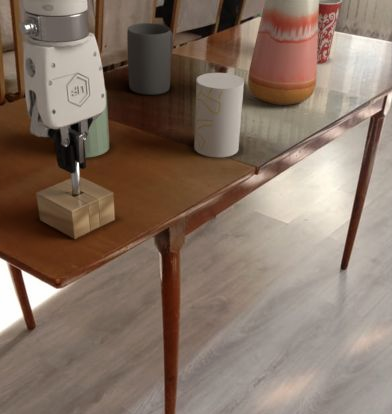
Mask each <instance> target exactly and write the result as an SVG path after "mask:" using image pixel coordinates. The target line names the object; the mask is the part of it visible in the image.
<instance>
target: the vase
mask: <svg viewBox="0 0 392 414" xmlns="http://www.w3.org/2000/svg"><path fill="white" fill-rule="evenodd" d="M318 16H319V0H264V5H263V9H262V12H261V17H260V21H259V26H258V30H257V34H256V37H255V38H256V39H255V43H254V48H253V52H252V55H251V61H250V65H249V70H248V76H247V87H248V90H249V92H250V93H251V94H252V95H253V96H254V97H255V98H257V99H258V100H260V101H263V102H265V103H267V104H272V105H280V106H289V105H296V104H299V103H302V102H304V101H306V100H308V99H309V98H310V97H311V96H312V95H313V94H314V92H315V90H316V85H317V77H318V76H317V73H318V63H317V47H318Z"/></svg>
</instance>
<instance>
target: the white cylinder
mask: <svg viewBox="0 0 392 414" xmlns="http://www.w3.org/2000/svg"><path fill="white" fill-rule="evenodd" d="M244 84H245V81H244V78H242V77H240V76H238V75H237V74H236V75H235V74H231V73H226V72H208V73H204V74H201V75H199V76H197V78H196V83H195V85H196V86H195V91H196V92H195V111H194V112H195V113H194V114H195V115H194V117H195V118H194V140H193V141H194V142H193V144H194V145H193V147H194V148H193V149H194V151H195V152H197V153H198V154H199V155H203V156H206V157H209V158H228V157H231V156H234V155H236V154H237V153H238V152H239V146H240V134H241V121H242V109H243V97H244V88H245V87H244V86H245V85H244Z"/></svg>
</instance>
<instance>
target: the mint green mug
mask: <svg viewBox="0 0 392 414" xmlns="http://www.w3.org/2000/svg"><path fill="white" fill-rule="evenodd" d="M105 95H106V107H105V110H104V111H103V112H102V114H101V115H100V116H99V117H98V118H96V119H95V120H94V121H93V122H92V124H91V126H90V127H89V129H88V137H87V139H86V140H84V143H85V155H86V157H85V158H87V159H89V158H94V157H99V156H101V155H104V154H105V153H107V152H108V151H109V150H110V128H109V110H108V109H109V108H108V93H107V88H105ZM67 127H68V126H67Z"/></svg>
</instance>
